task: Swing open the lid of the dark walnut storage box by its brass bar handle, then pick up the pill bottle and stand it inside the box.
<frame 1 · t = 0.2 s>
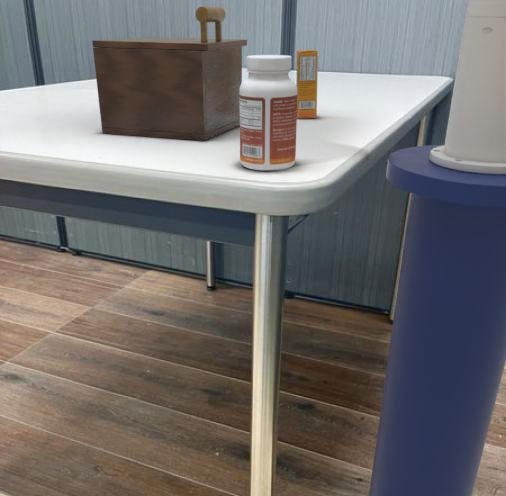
pill bottle: (267, 167, 66), on the table
supplement box: (304, 118, 97), on the table
chest: (175, 128, 86), on the table
lid: (172, 26, 80), point 13 cm above the table, hinge at 0.0°
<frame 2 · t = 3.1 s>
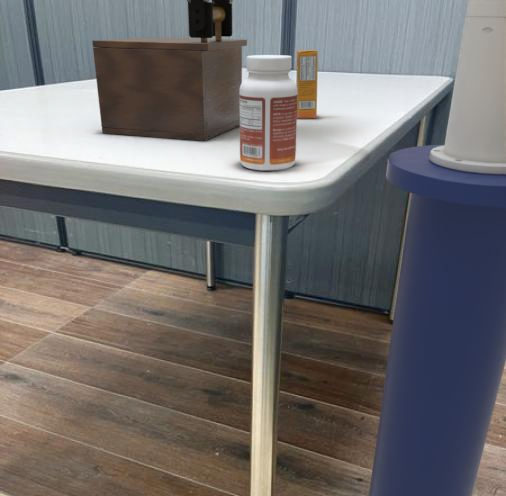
hand: (211, 35, 79), 12 cm above the table, tool pointing down, fingers closed on lid, 6 cm apart
lid: (172, 26, 80), point 13 cm above the table, hinge at 0.0°, touching gripper
everything else where it was.
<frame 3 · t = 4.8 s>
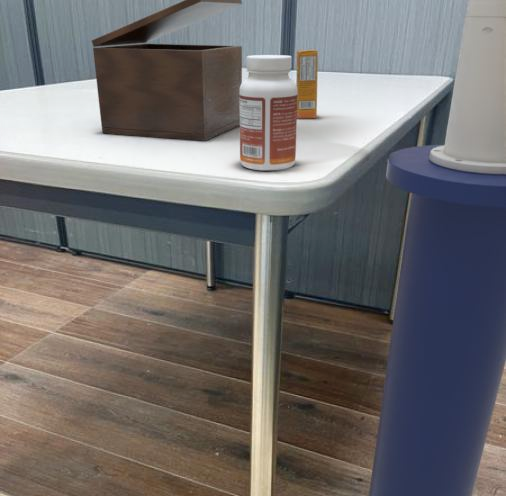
lid: (164, 5, 79), point 16 cm above the table, hinge at 18.7°, touching gripper
everything else where it was.
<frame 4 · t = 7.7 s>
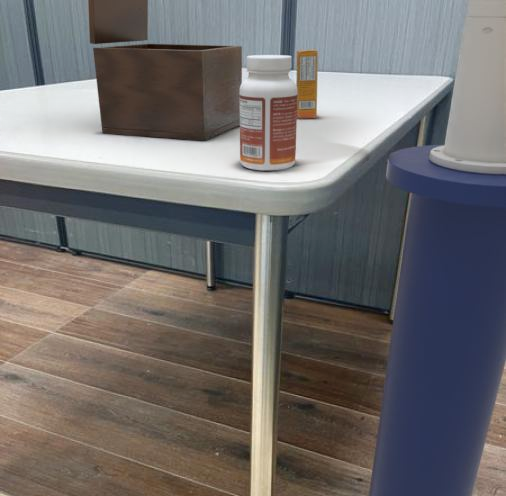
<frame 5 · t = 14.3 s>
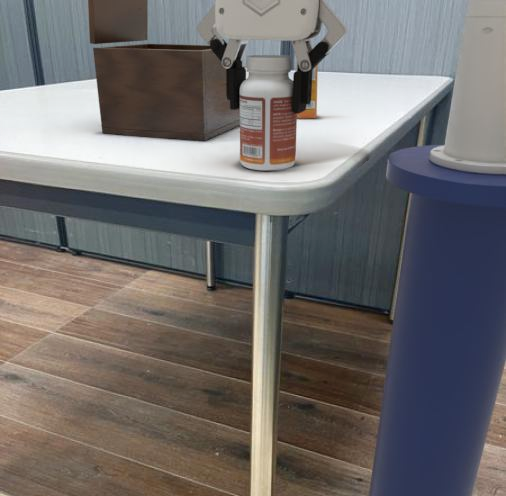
hand: (268, 108, 63), 6 cm above the table, tool pointing down, fingers closed on pill bottle, 6 cm apart
pill bottle: (267, 167, 66), on the table, touching gripper
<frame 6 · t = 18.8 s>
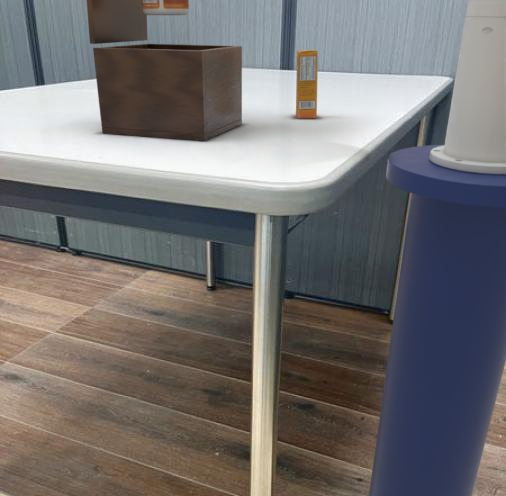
pill bottle: (165, 17, 79), point 14 cm above the table, touching gripper
when the fingers open (7 cm above the table, at t = 22.3 s): pill bottle stays where it is, resting on chest.
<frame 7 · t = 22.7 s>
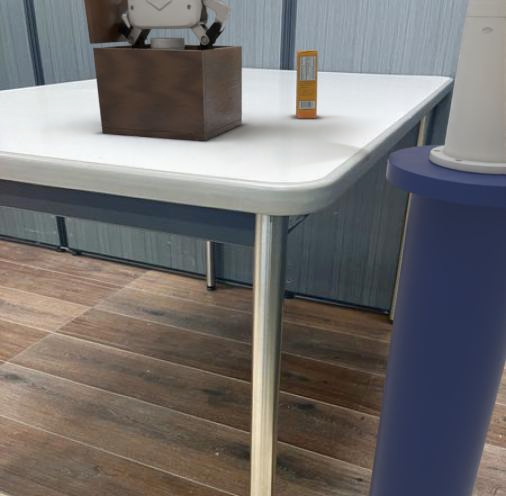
hand: (173, 76, 83), 7 cm above the table, tool pointing down, fingers open, 9 cm apart
pill bottle: (172, 124, 86), point 1 cm above the table, touching chest
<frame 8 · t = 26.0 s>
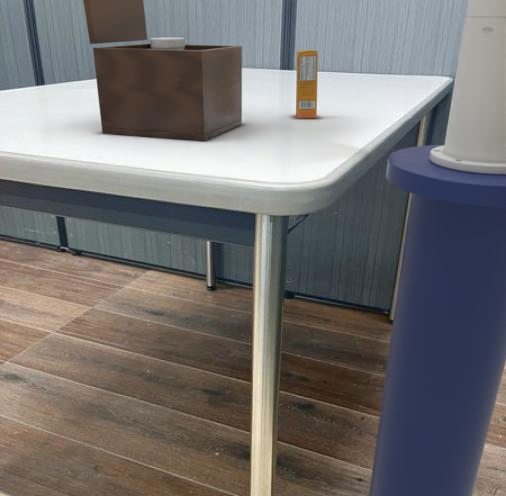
at the end: lid at +93° (first picture: +0°); pill bottle inside the target area in the chest (0.4 cm from its centre), point 0.6 cm above the chest's base; pill bottle tilted 0° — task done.
